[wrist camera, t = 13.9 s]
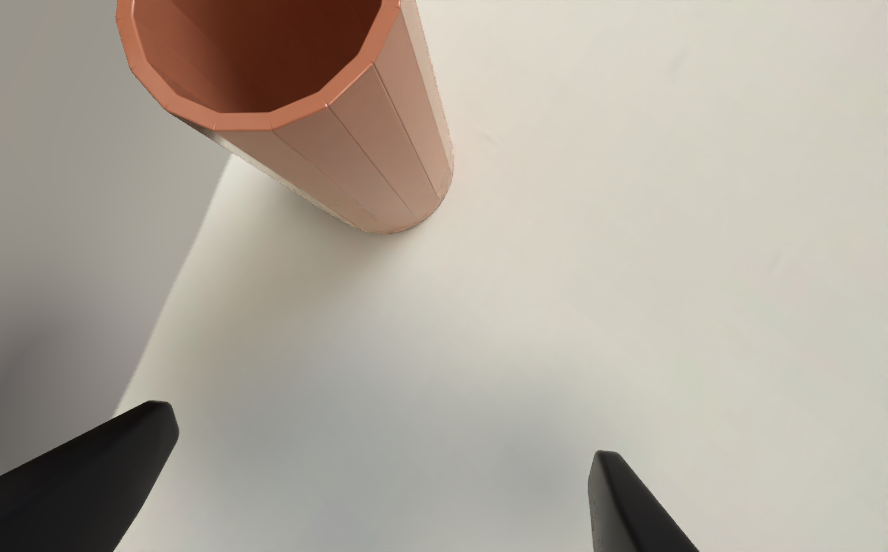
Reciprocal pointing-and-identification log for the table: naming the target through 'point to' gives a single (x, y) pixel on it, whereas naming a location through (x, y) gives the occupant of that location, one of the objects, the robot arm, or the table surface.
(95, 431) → the robot arm
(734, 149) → the table surface
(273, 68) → the pencil cup
